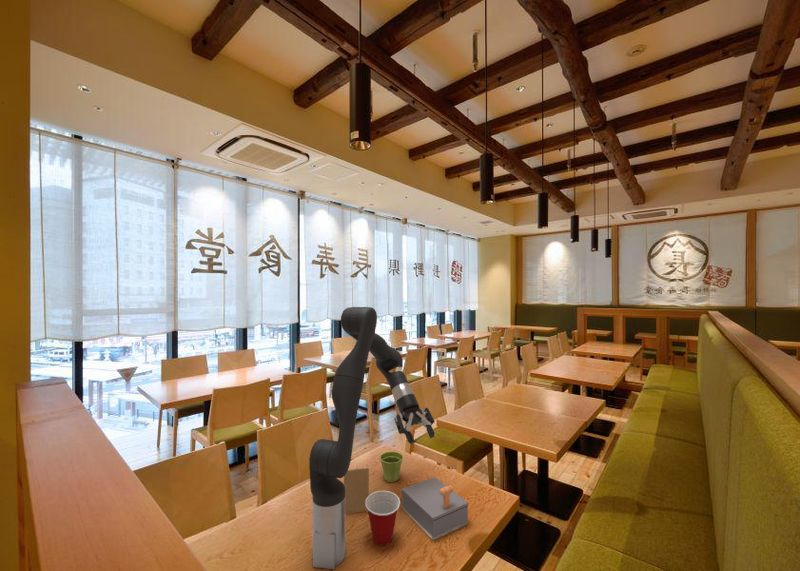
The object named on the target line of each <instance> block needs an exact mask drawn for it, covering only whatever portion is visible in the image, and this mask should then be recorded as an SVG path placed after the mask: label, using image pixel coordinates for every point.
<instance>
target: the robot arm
mask: <svg viewBox="0 0 800 571" xmlns="http://www.w3.org/2000/svg"><path fill="white" fill-rule="evenodd" d="M377 323H378V314H377V311H376V309H375V308H373V307H372V306H371V307H370V306H350V307H346V308H345V309H344V310H343V311H342V313H341V316H340V326H341V328H342V329H343V331H344V332H345V333H346V334H348V335H349V336H350V337H352V338H353V339H355V340H356V342H355V344H354V346H353V348H352V350H351V351H350V352H349V353H348V354H347V356H345V358H344V359H343V360H342V362H340V363H339V365H338V367H337V368H336V371H335V373H334V377H333V381H332V386H331V391H330V392H331V393H330V394H331V399H332V403H333V405H334V410H335V413H336V415H337V419H338V438H337V440H333V439H332V440H331V439H326V438H325V439H324V438H321V439H317V440H316V441H315V442H314V443H313V445H312V447H311V450H310V452H309V461H308V464H309V466H308V468H309V486H310V487H309V488H310V492H311V495H312V562H313V563H312V567H313V568H318V569H326V570H335V569H336V567H337V566H339V565H340V564H341V563H342V562H343V561H344V559H345V557H346V514H345V486H344V484H343V483H344V482H342V481H341V480H340V479H342V478H344V476H345V475H346V473H347V471H348V470H349V469H350V465H351V460H352V454H353V446H354V437H355V430H356V429H355V428H356V422H357V415H358V412H359V406H360V401H361V396H362V392H363V386H364V381H365V374H366V369H367V363H368V358H369V355H370V354H371V356H373V358H374V359H375V365H376V368H377V369H378V371H379V372H380V373H381V374H382V375H383V376H384V378H385V379H386V381H387V383H388V385H389V388H390V390H391V393H392V397H393V398H394V402H395V405H396V406H397V409H398V411H399V413H400V414H396V415H395V417H394V419H393V420H394V422H395V425H396V428H397V431H398V434H400V435H401V434H404V435H405V437H406V440H407V442H408V443H409V444H410V445H413V444H414V443H415V439H414V437H413V434H412V431H410V430H411V426H412V427H413V426H414V425H421V426H423V427H424V428H426V429H425V430H426V432H427V434H428V436H429V438H430V439H433V438H434V437H435V430H434V429H433V427H432V425H433V424H435V419H434V417H433V415H432V413H431V412H430V410H429V407H425V408H424V409H421V408H420V405H419V402H418V400H417V397H416V396H415V394H414V391H413V388H412V386H411V385H410V384H409V382H408V380H407V377H406V375H405V373H404V372H403V371H402V370H396V371H393V370H394V369H397V368H398V367H399V366H401V365H402V364H403V356H402V354H401V353H400V351H399V350H397V349H396V348H394V347H392V346H390V345H389V344H388V342H387V341H386V340H385V339H384V338H383V336H381V335H379V334H378V333H376V328H377V325H378V324H377ZM369 353H370V354H369ZM391 371H392V372H391ZM403 421H404V423H405V424H404V423H403Z"/></svg>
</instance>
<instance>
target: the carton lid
mask: <svg viewBox="0 0 800 571" xmlns="http://www.w3.org/2000/svg"><path fill="white" fill-rule="evenodd" d="M402 492H403V493H404V494H405V495H406V496H407V497H408V498H409V499H410V500H411V501H412V502H414V503H415V504H416V505H417V506H418V507H419V508H420V509H421V510H422V511H423V512H424V513H425V514H426V515H427V516H428V517H429V518H431V519H432V520H435V519H438V518H440V517H442V516H444V515H447V514H449V513H451V512H454V511H456V510H458V509H460V508H463V507H465V506H468V505H469V502H468V501H467V500H465V499H464V498H463V497H462V496H460V495H459V494H457V493H456V492H455V491H454V487H453V486H452V485H451V484H449V485H446V484H444V482H442V481H440V480H439V479H438V478H437V477H436V476H434V477H431V478H427V479H426V480H423V481H420V482H417V483H414V484H412V485H411V484H410V485H408V486H405V487H403V488H401V493H402Z"/></svg>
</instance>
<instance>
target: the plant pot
mask: <svg viewBox="0 0 800 571" xmlns="http://www.w3.org/2000/svg"><path fill="white" fill-rule="evenodd" d="M379 460H380V463H381V468H382V473H383V474H382V475H383V480H385V481H386V482H387V483H394V482H396V481H399V479H400V473H401V472H400V471H401V465H402V461H403V460H404V455H403V454H402V453H401V452H398V451H385V452H383V453H381V454H380V456H379Z"/></svg>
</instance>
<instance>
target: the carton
mask: <svg viewBox="0 0 800 571" xmlns="http://www.w3.org/2000/svg"><path fill="white" fill-rule="evenodd" d="M401 509H402V510H403V512H404V513H405V514H406V515H407V516H409V518H410V519H412V521H413V522H414V523H415V524H416V525H417V526H418V527H419V528H420V529H421V530H422V531H423V532H424V533H425V534H426V535H427V536H428V537H429V538H430V539H431V540H432V541H433V542H434V541H436V540H438V539H440V538H442V537H444V536H446V535H448V534H451V533H453V532H455V531H457V530H459V529H461V528H463V527H465V526H467V525H469V524H468V522H469V521H468V520H469V517H468V514H469V513H468V511H469V510H468V509H469V506H468V505H467V506H465V507H463V508H460V509H458V510H456V511H454V512H451V513H449V514H447V515H444V516H442V517H440V518H438V519H435V520H432V519H431V518H429V517H428V516H427V515H426V514H425V513H424V512H423V511H422V510H421V509H420V508H419V507H418V506H417V505H416V504H415V503H414V502H412V501H411V500H410V499H409V498H408V497H407V496H406V495H405V494H404V493H403V492H402V491H401Z"/></svg>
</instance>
